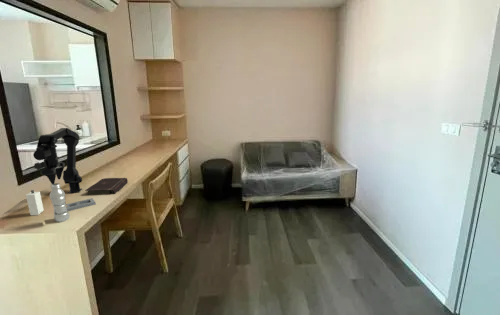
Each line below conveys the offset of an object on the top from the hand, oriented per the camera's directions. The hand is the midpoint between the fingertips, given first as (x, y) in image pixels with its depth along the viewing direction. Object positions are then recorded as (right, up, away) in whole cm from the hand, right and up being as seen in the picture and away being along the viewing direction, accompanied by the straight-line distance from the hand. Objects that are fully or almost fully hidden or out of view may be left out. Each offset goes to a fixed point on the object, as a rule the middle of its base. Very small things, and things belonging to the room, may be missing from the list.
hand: (56, 181), depth 162 cm
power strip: (+17, -14, -6) cm, 23 cm away
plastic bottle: (+19, -19, -22) cm, 35 cm away
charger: (-1, -17, -12) cm, 21 cm away
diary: (+19, -8, +23) cm, 31 cm away
